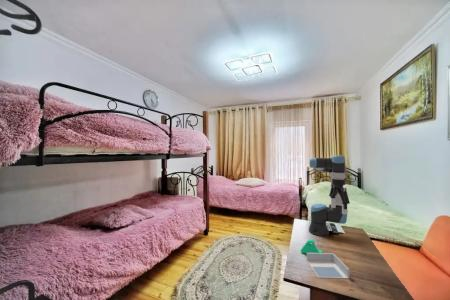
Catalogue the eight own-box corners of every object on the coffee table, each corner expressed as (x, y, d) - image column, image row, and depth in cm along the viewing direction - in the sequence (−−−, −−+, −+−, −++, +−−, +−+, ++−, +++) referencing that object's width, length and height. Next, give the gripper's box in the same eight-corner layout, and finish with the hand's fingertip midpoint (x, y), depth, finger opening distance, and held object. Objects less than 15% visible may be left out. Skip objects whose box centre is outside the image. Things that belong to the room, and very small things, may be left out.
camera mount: (322, 254, 132) (322, 239, 132) (320, 259, 125) (319, 243, 126) (303, 249, 139) (303, 234, 139) (300, 253, 133) (300, 238, 133)
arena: (306, 260, 124) (306, 252, 124) (333, 261, 123) (333, 253, 123) (318, 277, 107) (318, 268, 107) (349, 278, 106) (349, 269, 106)
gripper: (323, 176, 141) (324, 205, 141) (343, 181, 116) (343, 216, 116) (334, 176, 141) (334, 205, 141) (356, 181, 116) (356, 217, 116)
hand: (338, 210), depth 128 cm, fingers open, 13 cm apart
